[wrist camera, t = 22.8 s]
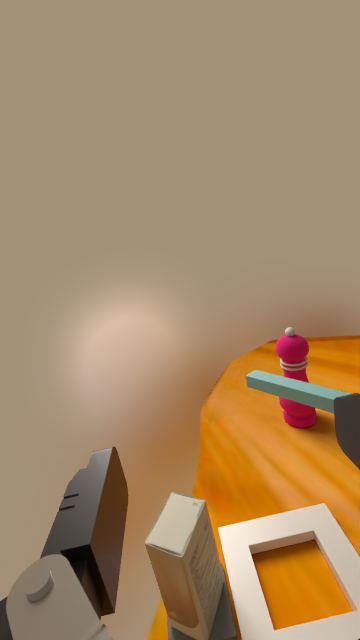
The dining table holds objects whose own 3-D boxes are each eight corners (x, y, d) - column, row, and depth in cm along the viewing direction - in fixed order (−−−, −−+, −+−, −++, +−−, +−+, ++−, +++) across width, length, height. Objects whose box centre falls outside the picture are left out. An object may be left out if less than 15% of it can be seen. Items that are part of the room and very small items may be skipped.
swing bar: (430, 426, 29) (430, 410, 29) (421, 443, 27) (421, 427, 27) (258, 379, 45) (257, 368, 45) (245, 388, 43) (243, 377, 43)
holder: (384, 497, 41) (380, 390, 37) (510, 634, 26) (526, 481, 22) (219, 536, 40) (197, 431, 36) (254, 697, 26) (223, 552, 22)
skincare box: (192, 568, 37) (172, 488, 34) (225, 580, 34) (207, 496, 32) (168, 630, 31) (141, 542, 28) (206, 649, 29) (182, 556, 26)
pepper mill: (294, 434, 57) (282, 337, 52) (275, 414, 64) (263, 328, 59) (327, 423, 58) (318, 327, 53) (305, 405, 65) (296, 319, 60)
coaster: (222, 567, 36) (221, 563, 36) (237, 639, 30) (236, 635, 30) (167, 580, 36) (166, 576, 36) (169, 656, 30) (168, 652, 29)
